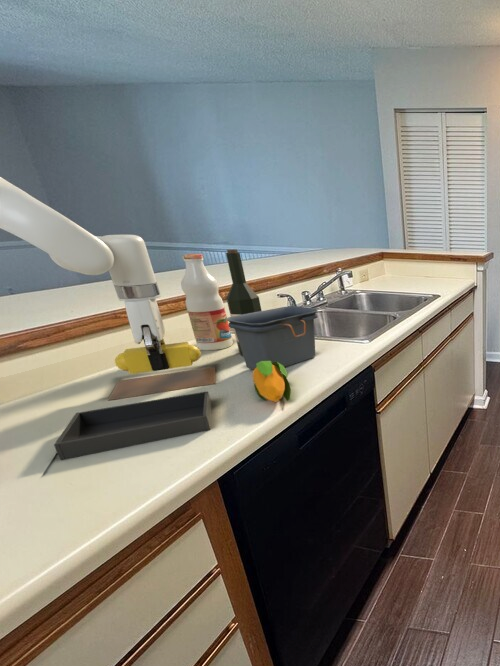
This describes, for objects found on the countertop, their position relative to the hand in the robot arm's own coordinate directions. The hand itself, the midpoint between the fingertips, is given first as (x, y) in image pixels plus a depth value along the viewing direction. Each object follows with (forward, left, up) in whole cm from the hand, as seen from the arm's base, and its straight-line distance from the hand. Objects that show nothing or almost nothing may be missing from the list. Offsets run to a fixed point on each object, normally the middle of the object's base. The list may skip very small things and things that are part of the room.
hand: (162, 365), depth 103 cm
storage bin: (+27, +2, -5) cm, 27 cm away
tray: (-1, -28, -5) cm, 28 cm away
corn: (+22, -22, -5) cm, 31 cm away
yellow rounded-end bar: (0, 0, 0) cm, 0 cm away
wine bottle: (+20, +18, -5) cm, 27 cm away
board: (0, 0, -5) cm, 5 cm away
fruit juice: (+10, +30, -5) cm, 32 cm away
